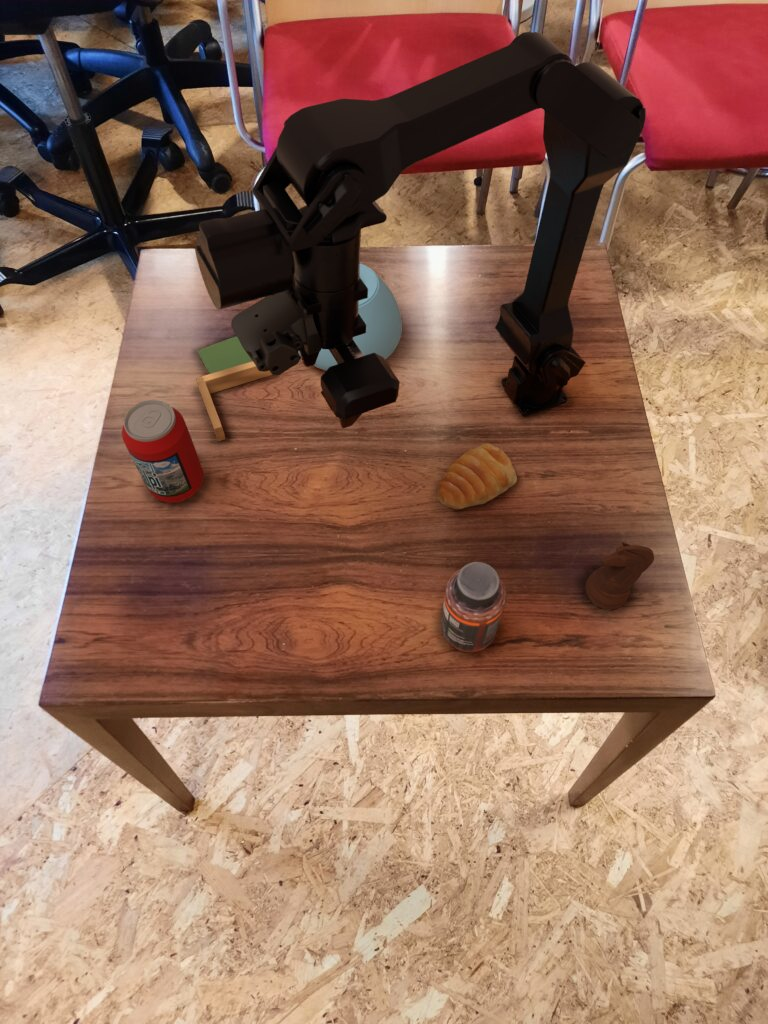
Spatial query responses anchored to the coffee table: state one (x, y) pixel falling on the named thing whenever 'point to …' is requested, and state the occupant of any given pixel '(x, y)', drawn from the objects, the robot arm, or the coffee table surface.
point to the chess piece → (618, 575)
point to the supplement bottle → (472, 607)
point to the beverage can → (162, 450)
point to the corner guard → (222, 382)
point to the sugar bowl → (373, 321)
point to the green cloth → (224, 355)
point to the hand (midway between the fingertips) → (327, 394)
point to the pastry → (476, 477)
